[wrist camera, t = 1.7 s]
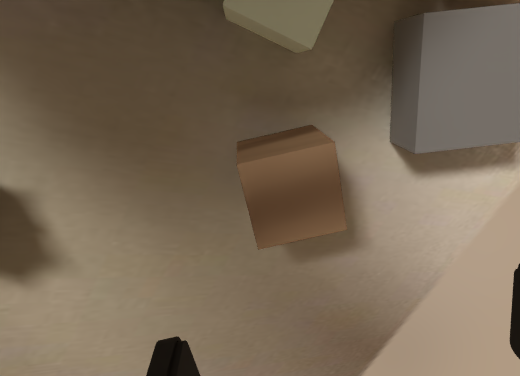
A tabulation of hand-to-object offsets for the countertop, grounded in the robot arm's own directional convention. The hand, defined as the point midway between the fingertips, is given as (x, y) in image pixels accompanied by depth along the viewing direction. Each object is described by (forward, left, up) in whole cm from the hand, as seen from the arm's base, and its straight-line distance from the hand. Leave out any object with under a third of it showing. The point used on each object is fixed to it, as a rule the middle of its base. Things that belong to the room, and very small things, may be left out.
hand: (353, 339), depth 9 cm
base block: (-4, +13, -17) cm, 21 cm away
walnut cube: (0, 0, -16) cm, 16 cm away
